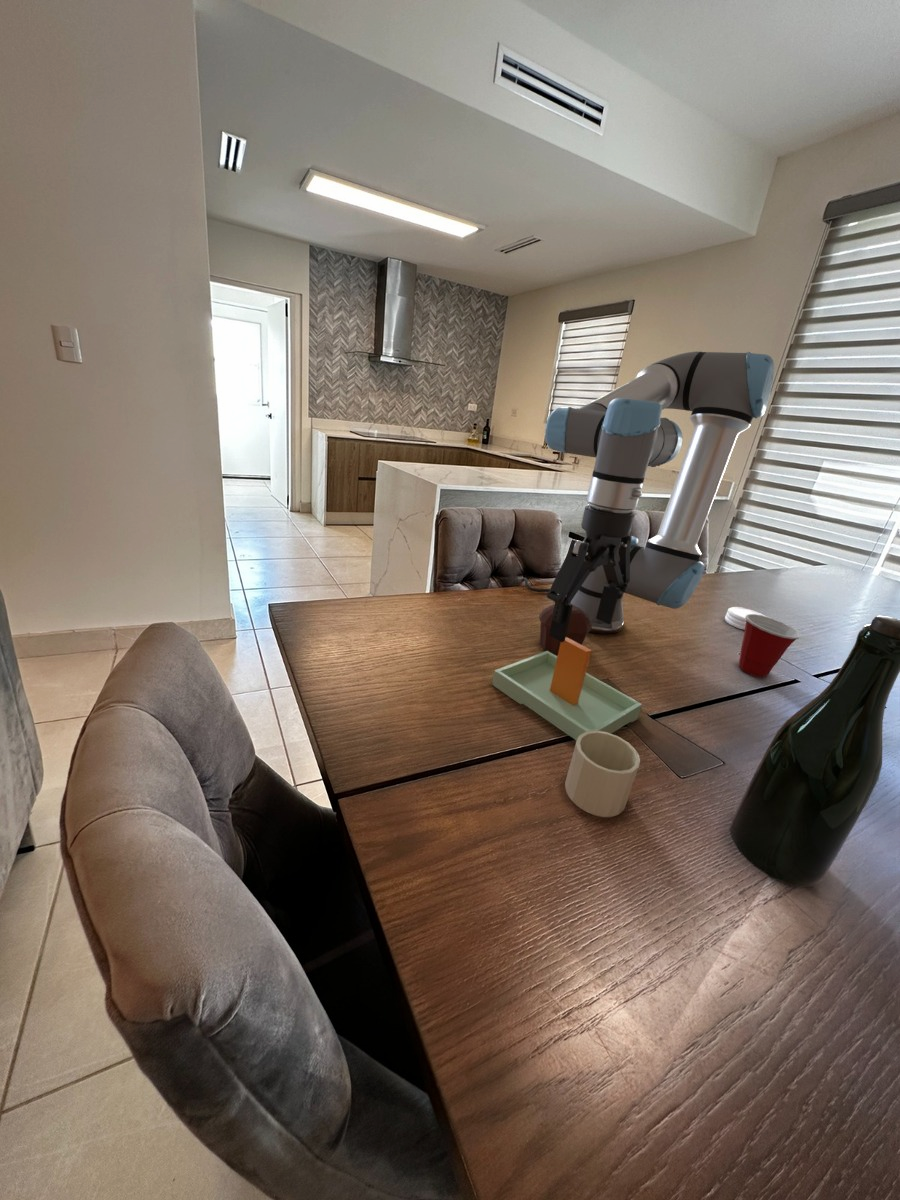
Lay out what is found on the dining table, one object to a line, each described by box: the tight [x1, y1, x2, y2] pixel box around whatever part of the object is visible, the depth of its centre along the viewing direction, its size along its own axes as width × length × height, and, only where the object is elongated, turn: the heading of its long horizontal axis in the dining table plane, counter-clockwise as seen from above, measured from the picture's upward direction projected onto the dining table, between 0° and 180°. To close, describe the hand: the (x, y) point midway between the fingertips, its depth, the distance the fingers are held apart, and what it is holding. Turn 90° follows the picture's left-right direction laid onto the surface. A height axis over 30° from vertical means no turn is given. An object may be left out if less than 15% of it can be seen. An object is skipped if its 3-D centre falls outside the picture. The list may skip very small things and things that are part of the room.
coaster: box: [724, 606, 765, 631], centre depth 132 cm, size 10×10×4 cm
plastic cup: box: [738, 614, 803, 678], centre depth 105 cm, size 11×11×12 cm
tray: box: [491, 650, 643, 742], centre depth 86 cm, size 22×16×3 cm
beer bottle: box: [729, 615, 900, 888], centre depth 54 cm, size 10×10×33 cm
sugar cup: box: [564, 731, 641, 818], centre depth 64 cm, size 8×8×8 cm
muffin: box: [538, 603, 592, 656], centre depth 105 cm, size 12×11×10 cm
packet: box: [550, 637, 593, 706], centre depth 84 cm, size 6×1×11 cm, turn 40°
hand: (581, 629), depth 81 cm, fingers open, 13 cm apart
